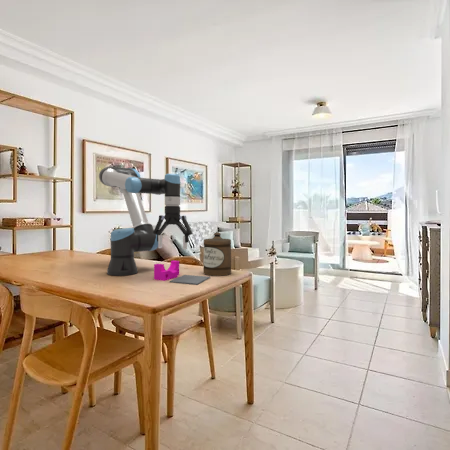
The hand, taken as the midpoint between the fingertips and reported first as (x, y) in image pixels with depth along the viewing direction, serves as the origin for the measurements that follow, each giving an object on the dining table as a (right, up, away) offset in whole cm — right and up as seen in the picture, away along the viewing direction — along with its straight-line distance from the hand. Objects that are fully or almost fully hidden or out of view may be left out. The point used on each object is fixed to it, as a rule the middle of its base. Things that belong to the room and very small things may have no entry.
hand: (172, 248), depth 161 cm
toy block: (-2, -15, +1) cm, 15 cm away
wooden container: (+22, -14, +13) cm, 29 cm away
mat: (+9, -15, -5) cm, 18 cm away
